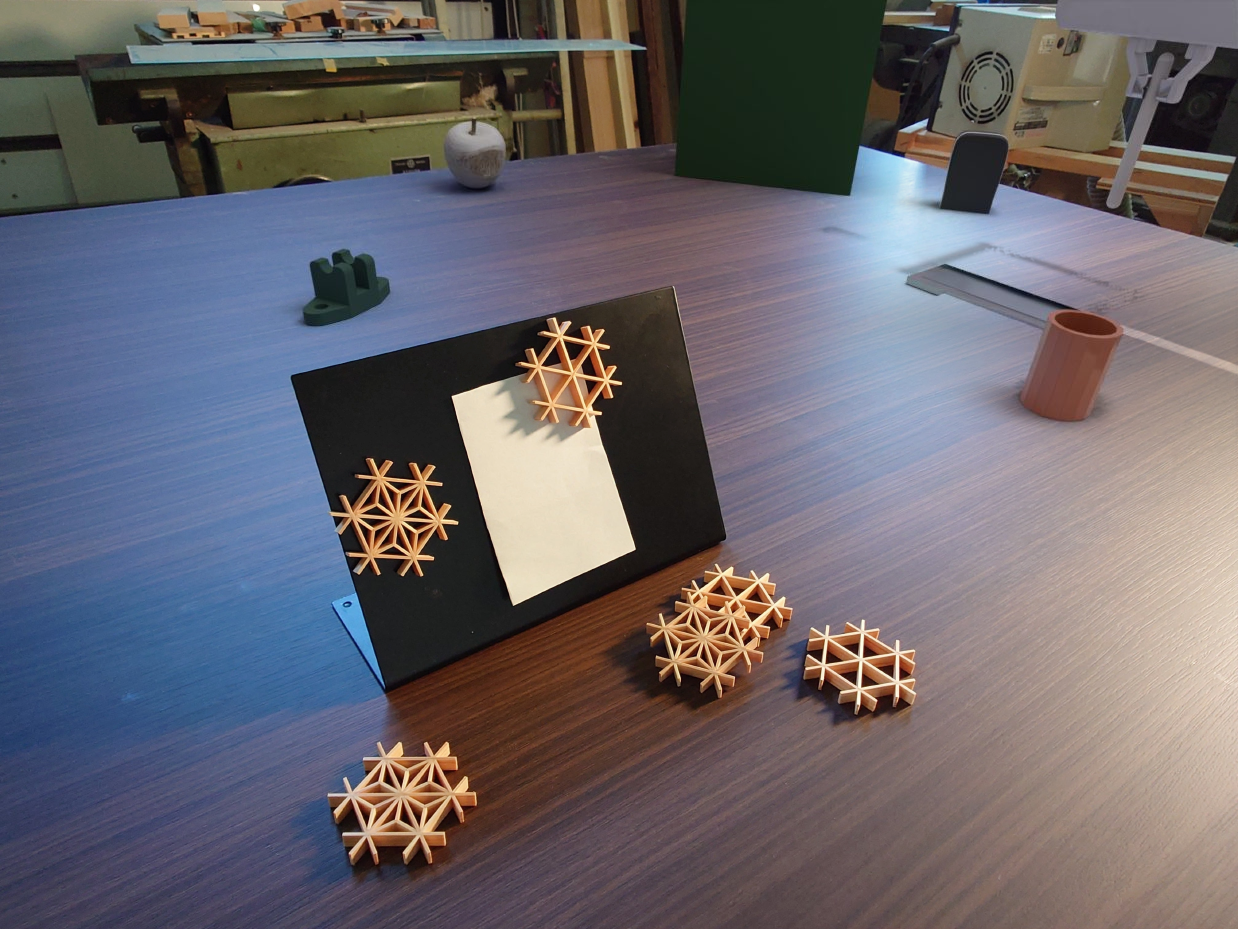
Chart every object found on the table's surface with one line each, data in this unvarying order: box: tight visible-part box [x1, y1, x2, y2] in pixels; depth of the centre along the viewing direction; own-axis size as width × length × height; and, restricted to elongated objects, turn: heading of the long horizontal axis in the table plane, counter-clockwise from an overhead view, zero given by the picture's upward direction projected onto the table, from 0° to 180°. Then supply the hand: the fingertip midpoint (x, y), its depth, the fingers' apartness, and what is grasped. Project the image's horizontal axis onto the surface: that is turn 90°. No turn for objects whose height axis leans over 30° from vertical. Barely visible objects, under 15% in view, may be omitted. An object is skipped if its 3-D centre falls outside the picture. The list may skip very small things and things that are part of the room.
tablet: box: [905, 263, 1079, 331], centre depth 90 cm, size 18×16×1 cm
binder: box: [674, 0, 888, 196], centre depth 121 cm, size 27×15×32 cm, turn 74°
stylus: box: [1105, 52, 1175, 209], centre depth 73 cm, size 1×1×13 cm
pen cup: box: [1019, 309, 1125, 423], centre depth 66 cm, size 5×5×8 cm
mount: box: [302, 248, 391, 327], centre depth 80 cm, size 11×4×5 cm, turn 153°
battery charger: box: [938, 129, 1010, 215], centre depth 110 cm, size 7×4×11 cm, turn 73°
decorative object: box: [443, 116, 507, 189], centre depth 116 cm, size 9×9×10 cm
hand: (1151, 99), depth 71 cm, fingers closed on stylus, 1 cm apart
